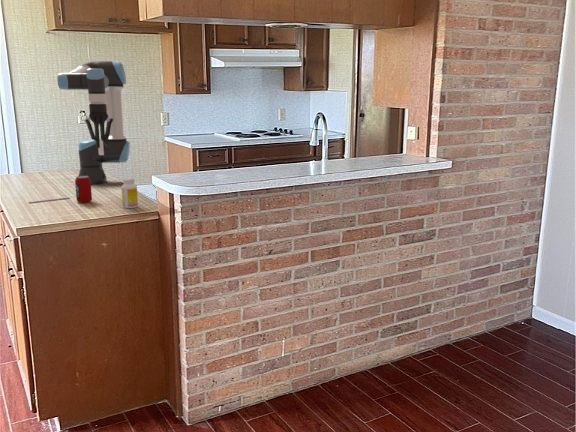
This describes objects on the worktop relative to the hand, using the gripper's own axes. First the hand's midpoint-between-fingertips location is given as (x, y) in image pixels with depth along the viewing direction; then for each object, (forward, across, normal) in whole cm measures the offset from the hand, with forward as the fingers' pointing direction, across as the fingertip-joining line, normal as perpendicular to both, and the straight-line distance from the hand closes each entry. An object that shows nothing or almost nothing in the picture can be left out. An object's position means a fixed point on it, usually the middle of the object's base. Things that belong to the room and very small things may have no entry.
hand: (101, 154), depth 258 cm
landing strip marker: (+21, +22, -12) cm, 33 cm away
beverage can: (+22, +9, 0) cm, 24 cm away
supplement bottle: (+22, -4, +22) cm, 31 cm away
